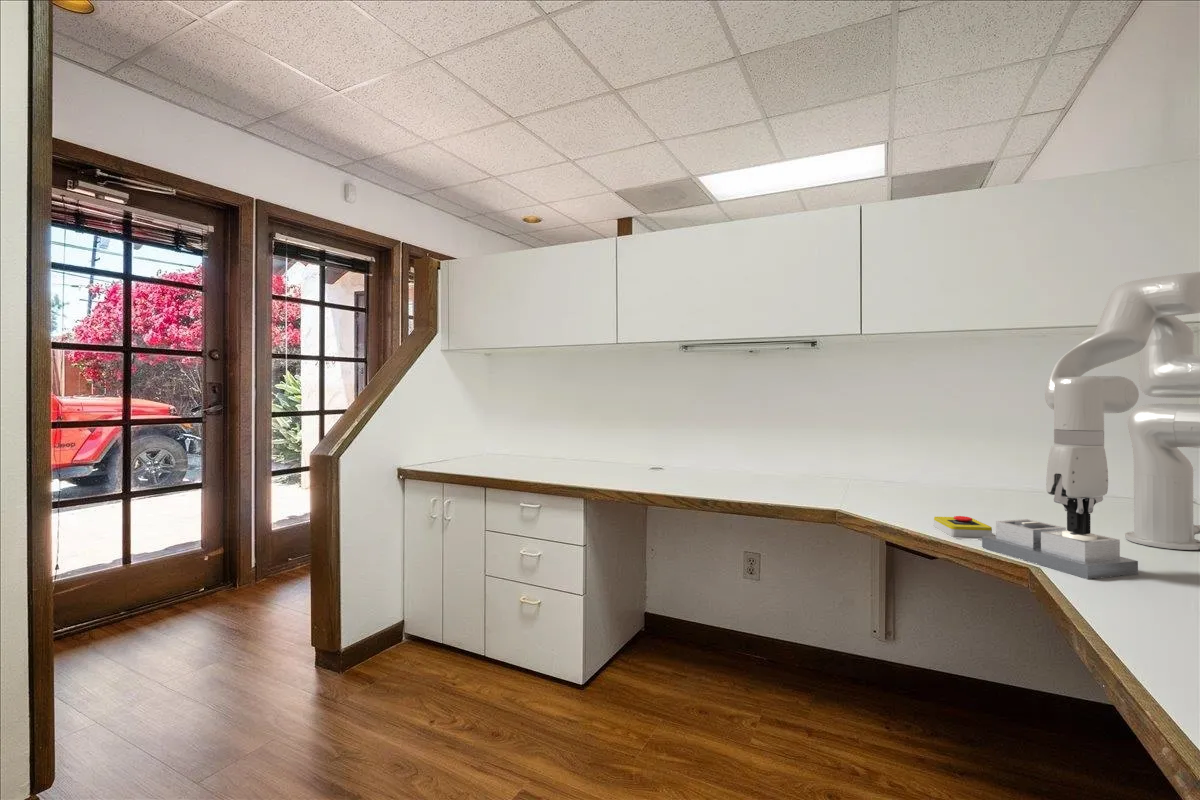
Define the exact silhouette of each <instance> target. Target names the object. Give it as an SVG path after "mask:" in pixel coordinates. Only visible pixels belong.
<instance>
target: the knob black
mask: <svg viewBox="0 0 1200 800" xmlns="http://www.w3.org/2000/svg"><path fill="white" fill-rule="evenodd" d="M1038 522H1039V521H1037V522H1032V521H1015V525H1018V526H1023V527H1027V528H1031V529H1036V528H1045V524H1042V523H1043V522H1042V523H1038Z"/></svg>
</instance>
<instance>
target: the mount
mask: <svg viewBox="0 0 1200 800" xmlns="http://www.w3.org/2000/svg"><path fill="white" fill-rule="evenodd" d="M1015 521H1032V522H1038V523H1042V524H1045V528H1036V529H1031V528H1027V527H1023V526H1018V525H1015ZM1062 531H1068V530H1067V527H1064V526H1061V525H1056V524H1051V523H1045V522H1041V521H1037V520H1033V519H1028V518H1025V519H1024V518H1023V519H1012V520H1011V519H1010V520H996V521H995V535H992V536H984V537H982V540H981V548H982V547H983V548H982V549H984V548H986V549H985V550H988V549H989V550H988V551H991V550H992V551H991V552H994V551H995V552H994V553H998V552H999V553H998V554H1001V553H1002V555H1005V554H1006V555H1005V556H1008V555H1009V556H1008V557H1011V556H1013V557H1012V558H1015V557H1016V558H1015V559H1018V558H1020V559H1019V560H1021V559H1023V560H1022V561H1025V560H1027V561H1026V562H1028V561H1030V562H1029V563H1031V562H1034V563H1033V564H1035V563H1037V564H1036V565H1038V564H1039V566H1042V565H1043V566H1042V567H1045V566H1046V568H1048V567H1049V568H1048V569H1052V570H1055V571H1058V570H1059V571H1060V572H1061V573H1062V572H1063V573H1065V572H1066V574H1068V573H1070V574H1069V575H1072V574H1073V576H1075V575H1076V577H1079V576H1080V577H1079V578H1082V577H1083V578H1082V579H1085V578H1087V580H1093V579H1092V578H1096V579H1102V578H1101V577H1105V578H1111V577H1110V576H1115V577H1121V576H1120V575H1125V576H1131V575H1130V574H1135V575H1139V560H1135V559H1131V558H1128V557H1123V556H1121V553H1120V552H1121V546H1120V545H1121V541H1120V540H1121V539H1119V538H1113V537H1111V536H1106V535H1100V534H1096V533H1094V534H1095V535H1097V540H1088V541H1082V540H1078V539H1074V538H1069V537H1065V536H1062ZM1059 571H1058V572H1059Z"/></svg>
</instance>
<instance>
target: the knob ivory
mask: <svg viewBox="0 0 1200 800" xmlns="http://www.w3.org/2000/svg"><path fill="white" fill-rule="evenodd" d="M1095 534H1096V533H1092V532H1090V534H1079V533H1074V532H1070V531H1062V536H1065V537H1069V538H1074V539H1078V540H1082V541H1088V540H1097V535H1098V534H1096V535H1095Z"/></svg>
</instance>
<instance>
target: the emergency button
mask: <svg viewBox="0 0 1200 800" xmlns="http://www.w3.org/2000/svg"><path fill="white" fill-rule="evenodd" d="M933 524H934V525H933V526H934V527H935V528H937V529H939V530H941V531H942V532H944V533H946V534H947V535H949V536H951V537H953V538H956V539H955V540H962V539H978V540H977V541H982V537H984V536H993V527H992V526H990V525H987V524H986V523H983V522H982V521H979V520H977V519H975V518H972V517H971V516H970V517H969V516H965V515H964V516H963V515H962V516H961V515H954V516H934V517H933ZM934 527H933V528H934ZM935 528H934V529H935ZM937 529H936V530H937ZM939 530H938V531H939ZM942 532H941V533H942ZM944 533H943V534H944ZM946 534H945V535H946ZM947 535H946V536H947ZM949 536H948V537H949ZM951 537H950V538H951ZM953 538H952V539H953Z"/></svg>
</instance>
